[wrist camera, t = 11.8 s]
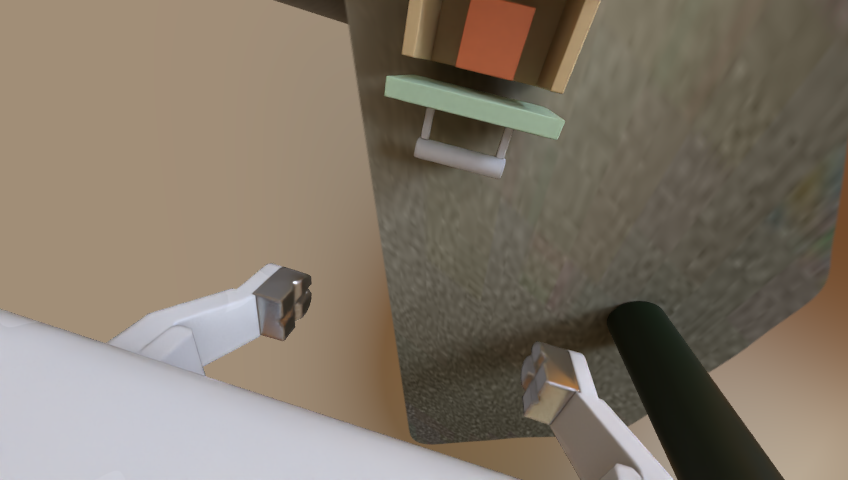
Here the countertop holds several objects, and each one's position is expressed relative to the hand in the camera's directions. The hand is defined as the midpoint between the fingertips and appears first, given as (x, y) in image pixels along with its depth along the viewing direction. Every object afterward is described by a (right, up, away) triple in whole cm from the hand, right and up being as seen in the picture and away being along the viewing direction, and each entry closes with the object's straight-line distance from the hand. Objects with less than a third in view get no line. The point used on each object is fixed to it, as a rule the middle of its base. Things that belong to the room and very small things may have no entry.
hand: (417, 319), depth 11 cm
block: (+5, +18, +12) cm, 22 cm away
